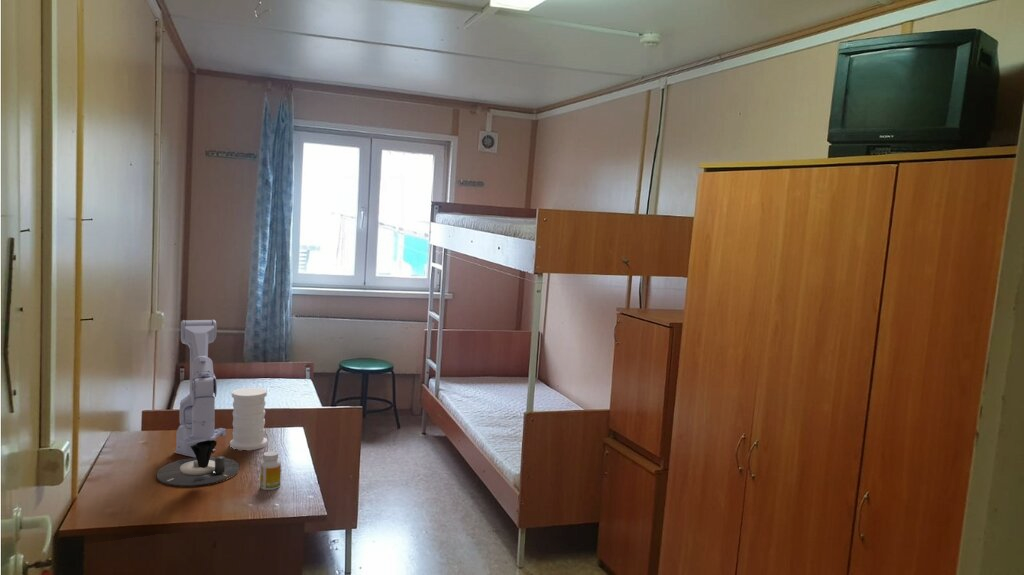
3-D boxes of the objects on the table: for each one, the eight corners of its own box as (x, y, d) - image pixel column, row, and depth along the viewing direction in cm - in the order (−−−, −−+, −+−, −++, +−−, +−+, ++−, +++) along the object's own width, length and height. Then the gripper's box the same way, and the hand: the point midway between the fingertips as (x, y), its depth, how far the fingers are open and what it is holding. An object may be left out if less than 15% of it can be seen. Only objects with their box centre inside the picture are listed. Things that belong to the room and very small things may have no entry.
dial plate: (139, 477, 200) (139, 473, 200) (201, 455, 220) (201, 451, 220) (196, 492, 192) (196, 488, 192) (255, 467, 212) (255, 464, 212)
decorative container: (251, 452, 225) (252, 397, 223) (222, 447, 229) (222, 393, 227) (274, 442, 236) (275, 390, 234) (246, 437, 240) (246, 385, 238)
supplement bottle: (284, 485, 200) (285, 452, 199) (272, 491, 195) (272, 457, 194) (268, 482, 202) (269, 449, 201) (256, 488, 197) (256, 454, 196)
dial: (172, 471, 203) (172, 456, 202) (198, 461, 212) (198, 446, 212) (210, 479, 198) (210, 463, 198) (235, 468, 208) (235, 453, 207)
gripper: (192, 428, 188) (192, 477, 190) (234, 415, 201) (233, 461, 203) (173, 424, 191) (173, 472, 192) (215, 411, 204) (215, 457, 206)
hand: (203, 466), depth 198 cm, fingers closed
